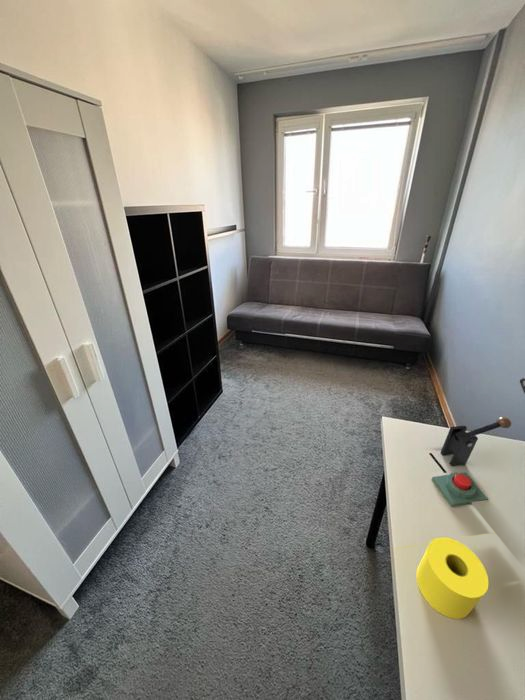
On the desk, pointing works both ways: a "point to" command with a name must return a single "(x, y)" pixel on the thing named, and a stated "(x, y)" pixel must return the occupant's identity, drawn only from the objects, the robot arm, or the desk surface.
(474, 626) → the desk surface
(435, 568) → the tape roll
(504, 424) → the lever
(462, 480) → the button
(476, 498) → the switch block
